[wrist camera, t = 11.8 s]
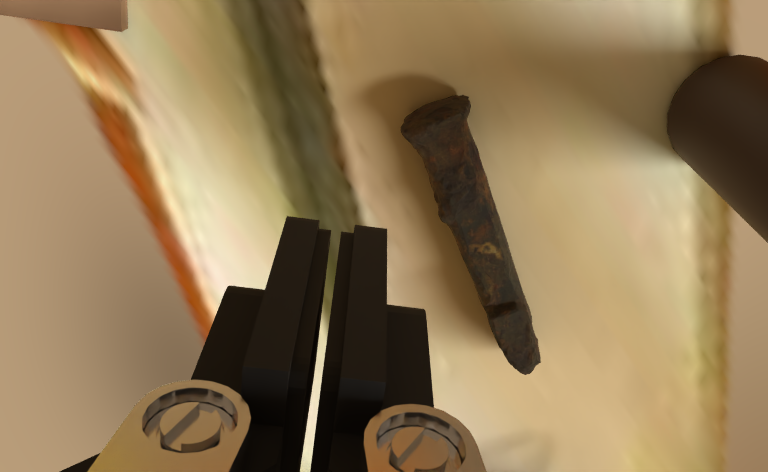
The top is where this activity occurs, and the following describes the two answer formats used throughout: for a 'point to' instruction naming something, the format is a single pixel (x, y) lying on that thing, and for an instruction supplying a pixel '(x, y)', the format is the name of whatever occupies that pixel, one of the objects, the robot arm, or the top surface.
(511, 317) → the hand tool
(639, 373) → the top surface
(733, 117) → the bottle
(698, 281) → the top surface
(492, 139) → the top surface
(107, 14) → the tongs board
